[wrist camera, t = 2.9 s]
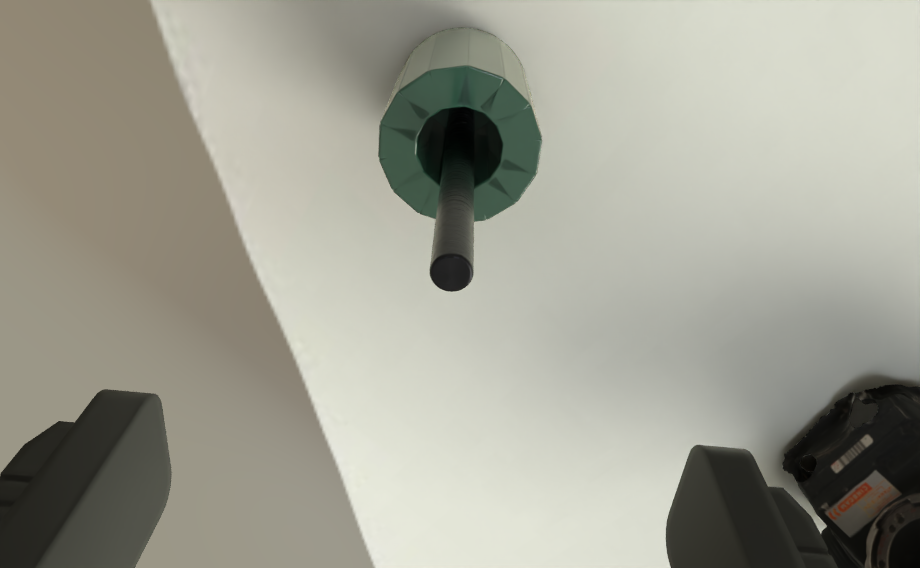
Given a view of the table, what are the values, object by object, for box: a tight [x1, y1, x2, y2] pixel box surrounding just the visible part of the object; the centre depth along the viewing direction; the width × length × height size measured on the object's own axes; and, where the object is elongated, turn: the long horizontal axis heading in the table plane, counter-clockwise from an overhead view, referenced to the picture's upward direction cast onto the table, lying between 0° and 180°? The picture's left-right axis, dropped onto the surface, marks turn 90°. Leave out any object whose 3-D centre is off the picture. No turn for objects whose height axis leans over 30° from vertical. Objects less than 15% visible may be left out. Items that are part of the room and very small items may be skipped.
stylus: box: [430, 107, 475, 292], centre depth 23 cm, size 1×1×15 cm
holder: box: [378, 28, 542, 222], centre depth 27 cm, size 5×6×7 cm
